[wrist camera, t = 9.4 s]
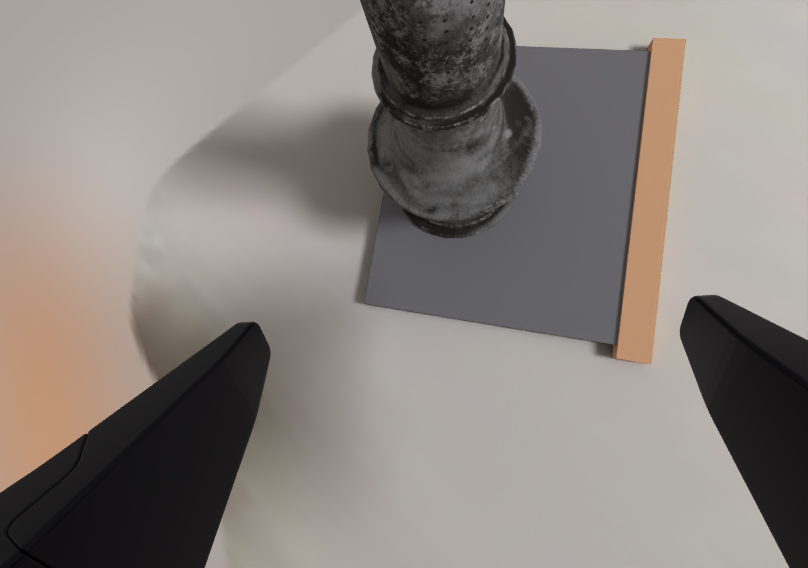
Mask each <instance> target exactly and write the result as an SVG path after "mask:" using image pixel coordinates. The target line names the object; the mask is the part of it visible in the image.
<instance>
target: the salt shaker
mask: <svg viewBox="0 0 808 568" xmlns="http://www.w3.org/2000/svg"><path fill="white" fill-rule="evenodd" d="M360 1H361V4H362V7H363V10H364V13H365V16H366V19H367V22H368V25H369V28H370V30H371V33H372V36H373V39H374V42H375V45H376V50H375V53H374V56H373V64H372V79H373V84H374V89H375V92H376V94H377V96H378V98H379V100H380V103H379V105H378V106H377V108H376V110H375V113H374V116H373V119H372V122H371V125H370V127H369V135H368V149H367V150H368V155H369V160H370V165H371V169H372V172H373V173H374V175H375V177H376V179H377V181H378V183H379V185H380V187H381V189H382V190H383V191H384V192H385V193H386V194H387V195H388V196H389V197H390V198H391V199H392V200H393V201H394V202H395V203H396V204H397V205H398V206H400V207H402V208H403V210H404V212H405V214H406V215H407V216H408V217H409V218H410V219H411V220H412V221H413V222H414V224H415V225H416V226H418V227H420V228H421V229H423V230H425V231H427V232H428V233H430V234H433V235H437V236H441V237H444V238H465V237H469V236H473V235H477V234H480V233H482V232H484V231H486V230H488V229H490V228H491V227H493V226H495V225H496V224H497V223H498V222H499V221H500V220H501V219H502V218H503V217H505V216H506V215H507V213H508V212H509V210H510V209H511V207H512V205H513V204H514V202H515V201H516V198H517V195H518V191H519V190H520V189H521V188H522V186H523V185H524V183H525V182H526V180H527V178H528V177H529V175H530V174H531V172H532V171H533V169H534V167H535V164H536V160H537V157H538V154H539V151H540V147H541V126H542V122H541V119H540V116H539V112H538V109H537V105H536V102H535V100H534V99H533V97H532V96H531V94H530V92H529V91H528V89H527V88H526V86H525V85H524V83H522V82H521V81H520V80H519V79H518V78H516V77H515V76H514V75H513V73H514V70H515V67H516V52H517V45H516V42H515V38H514V34H513V31H512V28H511V27H510V25H509V24H508V22H507V21H506V19H505V17H504V6H505V0H360Z"/></svg>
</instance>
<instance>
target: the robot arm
mask: <svg viewBox="0 0 808 568" xmlns="http://www.w3.org/2000/svg"><path fill="white" fill-rule="evenodd" d="M680 338H681V341H682V344H683V346H684V349H685V352H686V354H687V357H688V360H689V362H690V365H691V368H692V370H693V373H694V376H695V378H696V381H697V384H698V386H699V389H700V392H701V394H702V397H703V399H704V402H705V404H706V407H707V409H708V411H709V413H710V415H711V417H712V419H713V421H714V423H715V425H716V427H717V429H718V431H719V433H720V435H721V437H722V439H723V441H724V443H725V444H726V446H727V448H728V450H729V452H730V454H731V456H732V458H733V460H734V462H735V464H736V466H737V468H738V470H739V471H740V473H741V475H742V477H743V479H744V481H745V483H746V485H747V487H748V489H749V491H750V493H751V495H752V497H753V498H754V500H755V502H756V504H757V506H758V508H759V510H760V512H761V514H762V516H763V518H764V520H765V522H766V524H767V525H768V527H769V529H770V531H771V533H772V535H773V537H774V539H775V541H776V543H777V545H778V547H779V549H780V551H781V552H782V554H783V556H784V558H785V560H786V562H787V564H788V566H789V568H808V340H806V339H804V338H802V337H800V336H798V335H796V334H794V333H792V332H790V331H788V330H786V329H784V328H782V327H780V326H778V325H776V324H774V323H772V322H770V321H768V320H766V319H764V318H762V317H760V316H758V315H756V314H754V313H752V312H750V311H748V310H746V309H744V308H742V307H740V306H738V305H736V304H734V303H732V302H730V301H728V300H726V299H724V298H722V297H720V296H718V295H702V296H694V297H692V298H691V299H690V300H689V302H688V305H687V308H686V311H685V314H684V317H683V320H682V323H681V326H680ZM270 354H271V353H270V347H269V345H268V343H267V341H266V338H265V336H264V334H263V332H262V330H261V328H260V326H259V325H258V324H257V323H256V322H241V323H237V324H236V325H234V326H233V327H232V328H230V329H229V330H227V331H226V332H225V333H223V334H222V335H221V336H219V337H218V338H216V339H215V340H214V341H212V342H211V343H210V344H208V345H207V346H205V347H204V348H203V349H201V350H200V351H199V352H197V353H196V354H194V355H193V356H192V357H190V358H189V359H187V360H186V361H185V362H183V363H182V364H181V365H179V366H178V367H176V368H175V369H174V370H172V371H171V372H170V373H168V374H167V375H165V376H164V377H163V378H161V379H160V380H159V381H157V382H156V383H154V384H153V385H152V386H150V387H149V388H148V389H146V390H145V391H143V392H142V393H141V394H139V395H138V396H137V397H135V398H134V399H133V400H131V401H130V402H128V403H127V404H126V405H124V406H123V407H121V408H120V409H119V410H117V411H116V412H115V413H113V414H112V415H110V416H109V417H108V418H106V419H105V420H103V421H102V422H101V423H99V424H98V425H97V426H95V427H94V428H92V429H91V430H90V431H89V432H88V434H84V435H83V436H81V437H80V438H79V439H77V440H76V441H75V442H73V443H72V444H70V445H69V446H68V447H66V448H65V449H64V450H62V451H61V452H59V453H58V454H56V455H55V456H54V457H52V458H51V459H49V460H48V461H47V462H45V463H44V464H42V465H41V466H39V467H38V468H37V469H35V470H34V471H32V472H31V473H29V474H28V475H26V476H25V477H23V478H22V479H20V480H19V481H17V482H16V483H14V484H13V485H11V486H10V487H8V488H7V489H5V490H4V491H2V492H1V493H0V568H205V565H206V562H207V559H208V557H209V553H210V551H211V548H212V545H213V542H214V539H215V536H216V533H217V530H218V528H219V525H220V522H221V519H222V516H223V513H224V510H225V507H226V504H227V501H228V499H229V496H230V493H231V490H232V487H233V484H234V481H235V478H236V475H237V472H238V470H239V467H240V464H241V461H242V458H243V455H244V452H245V449H246V446H247V443H248V441H249V438H250V435H251V432H252V429H253V426H254V423H255V420H256V416H257V413H258V409H259V405H260V400H261V396H262V391H263V387H264V383H265V378H266V374H267V370H268V365H269V361H270Z"/></svg>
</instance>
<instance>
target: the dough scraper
mask: <svg viewBox="0 0 808 568" xmlns="http://www.w3.org/2000/svg"><path fill="white" fill-rule="evenodd" d="M685 43H686V39H662V38H653V40H652V41H651V43H650V45H649V46H648V51H631V50H604V49H577V48H551V47H524V46H517V52H516V67H515V70H514V73H513V75H514V76H515V77H516V78H518V79H519V80H520V81H521V82H522V83H524V85H525V86H526V88H527V89H528V91H529V92H530V94H531V96H532V97H533V99H534V100H535V102H536V105H537V109H538V112H539V116H540V119H541V122H542V126H541V147H540V151H539V154H538V157H537V160H536V164H535V167H534V169H533V171H532V172H531V174H530V175H529V177H528V178H527V180H526V182H525V183H524V185H523V186H522V188H521V189H520V190H519V191H518V195H517V198H516V201H515V202H514V204H513V205H512V207H511V209H510V210H509V212H508V213H507V215H506V216H505V217H503V218H502V219H501V220H500V221H499V222H498V223H497V224H496V225H495V226H493V227H491V228H490V229H488V230H486V231H484V232H482V233H480V234H477V235H473V236H469V237H465V238H444V237H441V236H437V235H433V234H430V233H428V232H427V231H425V230H423V229H421V228H420V227H418V226H416V225H415V224H414V222H413V221H412V220H411V219H410V218H409V217H408V216H407V215H406V214H405V212H404V210H403V208H402V207H400V206H398V205H397V204H396V203H395V202H394V201H393V200H392V199H391V198H390V197H389V196H388V195H387V194H386V193H385V192H384V196H383V201H382V207H381V212H380V218H379V223H378V229H377V234H376V240H375V245H374V251H373V256H372V262H371V267H370V273H369V278H368V284H367V289H366V295H365V300H364V304H368V305H374V306H380V307H386V308H392V309H399V310H405V311H411V312H417V313H423V314H429V315H435V316H441V317H447V318H453V319H459V320H465V321H472V322H478V323H484V324H490V325H496V326H502V327H508V328H514V329H520V330H526V331H532V332H539V333H545V334H551V335H557V336H563V337H569V338H575V339H581V340H587V341H593V342H599V343H605V344H612V345H613V354H612V358H616V359H622V360H628V361H634V362H640V363H646V364H651V363H652V353H653V344H654V334H655V325H656V316H657V306H658V297H659V287H660V278H661V268H662V259H663V250H664V240H665V231H666V221H667V212H668V203H669V193H670V184H671V174H672V165H673V155H674V146H675V137H676V127H677V118H678V108H679V99H680V90H681V80H682V71H683V61H684V52H685Z"/></svg>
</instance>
